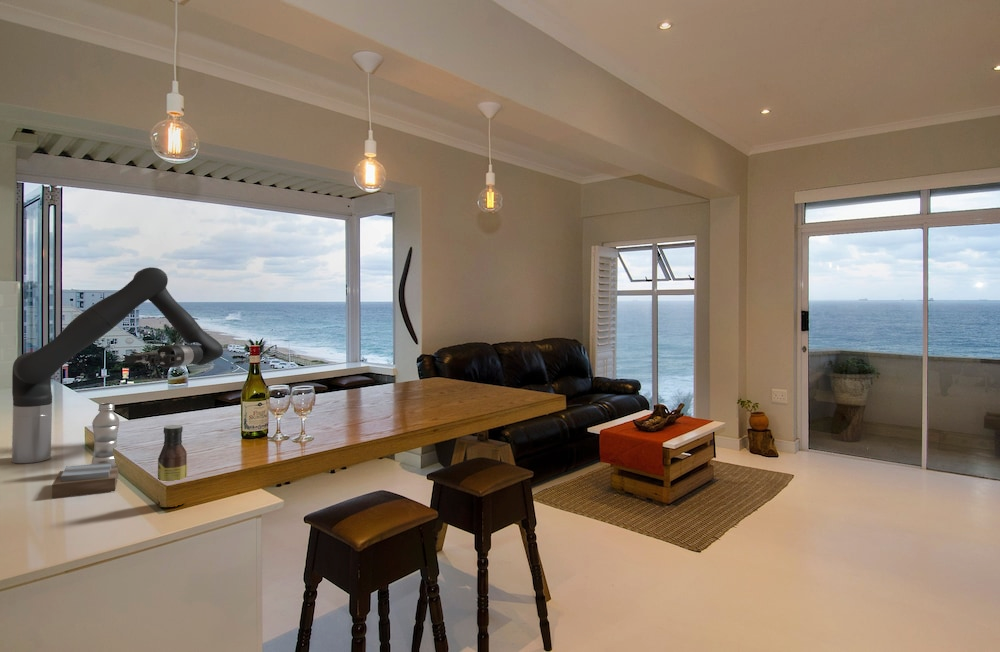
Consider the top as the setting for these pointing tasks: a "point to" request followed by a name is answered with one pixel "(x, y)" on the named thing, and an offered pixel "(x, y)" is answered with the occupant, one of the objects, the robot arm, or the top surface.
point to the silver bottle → (105, 434)
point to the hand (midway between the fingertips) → (138, 359)
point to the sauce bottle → (172, 456)
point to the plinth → (85, 480)
